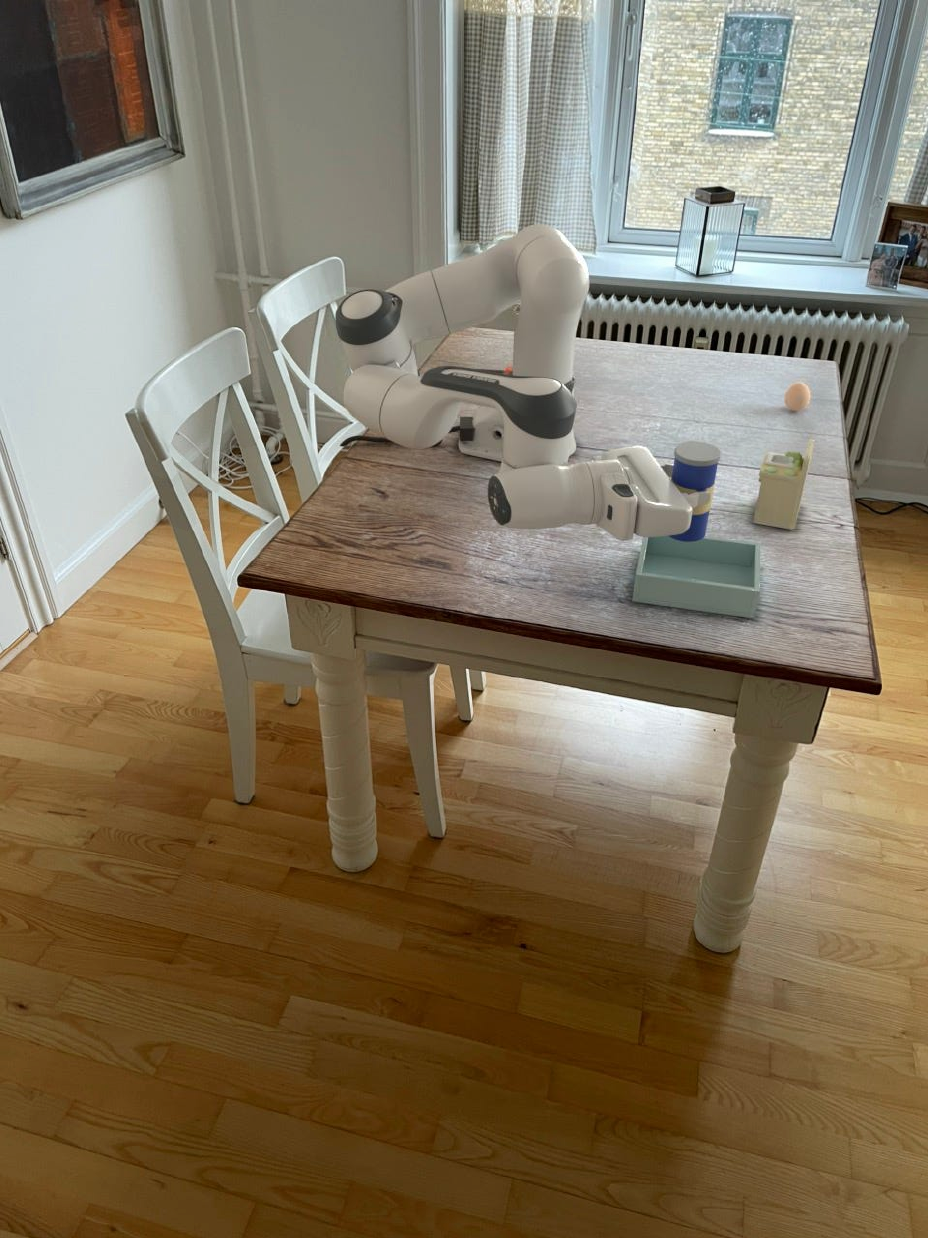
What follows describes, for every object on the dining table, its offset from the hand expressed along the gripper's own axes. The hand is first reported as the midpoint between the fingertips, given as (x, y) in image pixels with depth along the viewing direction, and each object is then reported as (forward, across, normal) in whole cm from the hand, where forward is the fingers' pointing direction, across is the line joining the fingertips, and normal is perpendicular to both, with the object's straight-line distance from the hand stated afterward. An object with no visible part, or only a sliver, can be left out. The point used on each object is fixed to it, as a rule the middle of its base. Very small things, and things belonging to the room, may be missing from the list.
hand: (698, 483), depth 137 cm
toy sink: (+23, -17, -17) cm, 33 cm away
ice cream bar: (-16, -84, -17) cm, 87 cm away
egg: (+46, -57, -17) cm, 75 cm away
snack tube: (-1, 0, -8) cm, 8 cm away
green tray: (+2, +1, -17) cm, 17 cm away
